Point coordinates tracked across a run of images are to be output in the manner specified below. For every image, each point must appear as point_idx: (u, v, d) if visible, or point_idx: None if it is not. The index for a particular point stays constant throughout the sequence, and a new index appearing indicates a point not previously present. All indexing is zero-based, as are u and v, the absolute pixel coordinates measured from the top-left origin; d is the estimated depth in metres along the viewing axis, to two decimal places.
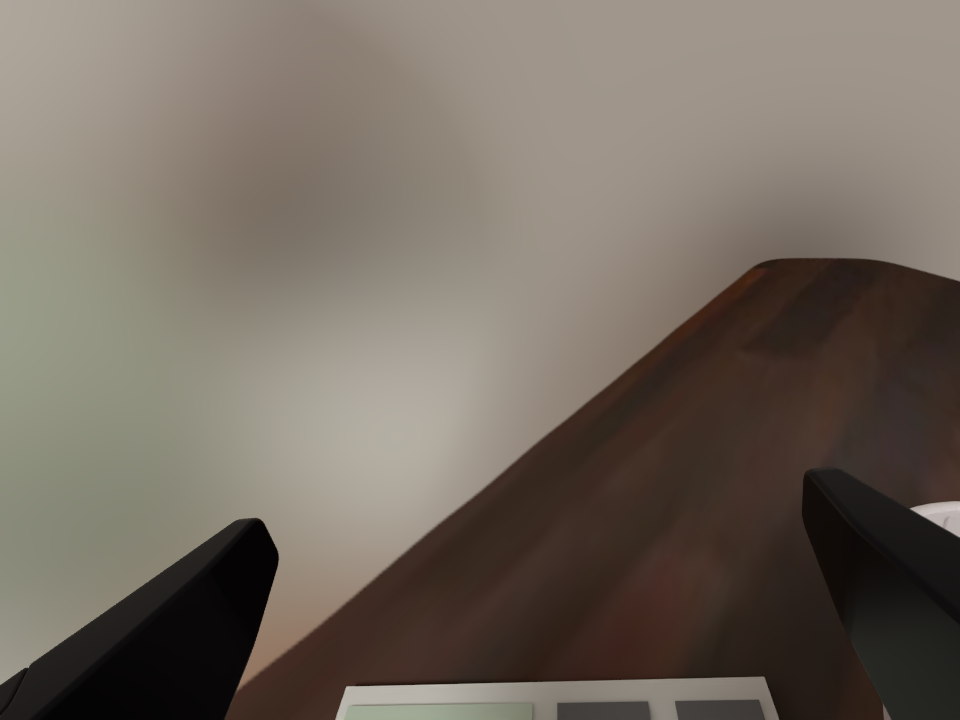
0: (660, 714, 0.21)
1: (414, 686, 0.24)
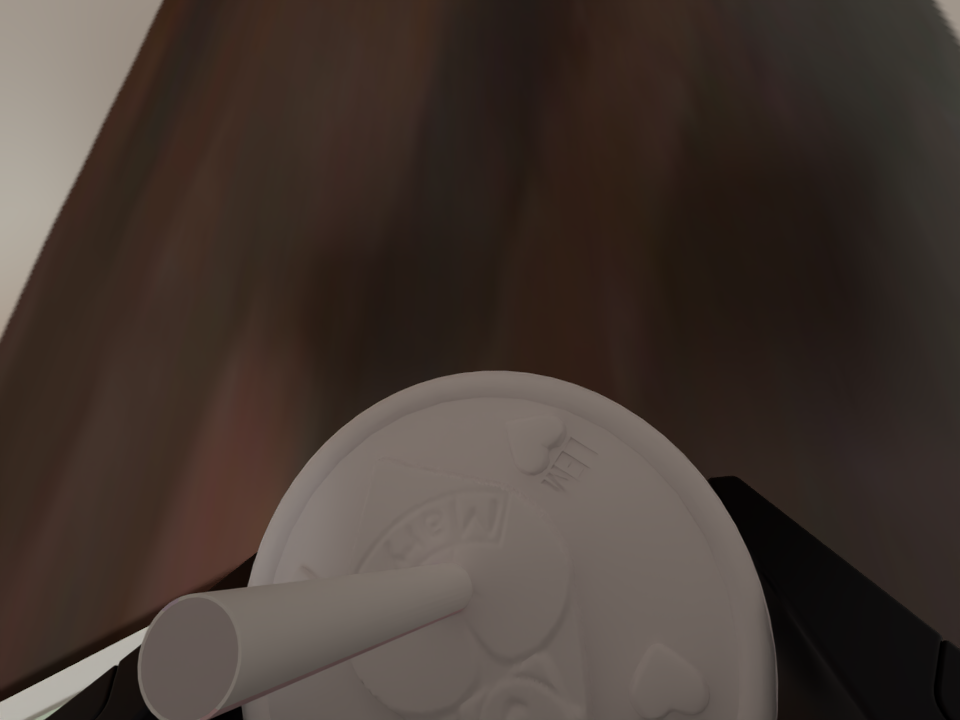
0: None
1: None
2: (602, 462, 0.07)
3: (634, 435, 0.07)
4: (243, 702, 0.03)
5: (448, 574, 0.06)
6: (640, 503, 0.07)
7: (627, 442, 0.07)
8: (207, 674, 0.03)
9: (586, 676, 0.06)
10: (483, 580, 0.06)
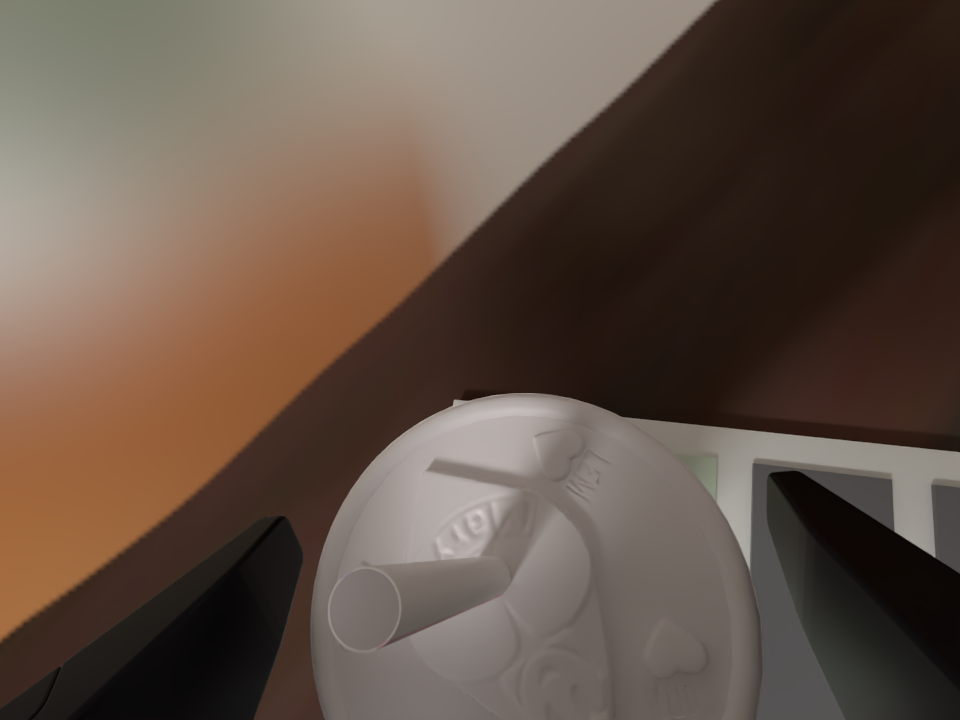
0: (905, 495, 0.15)
1: None
2: (616, 469, 0.08)
3: (642, 446, 0.08)
4: (396, 639, 0.04)
5: (494, 563, 0.07)
6: (648, 503, 0.08)
7: (636, 452, 0.08)
8: (375, 620, 0.04)
9: (607, 645, 0.07)
10: (520, 569, 0.08)
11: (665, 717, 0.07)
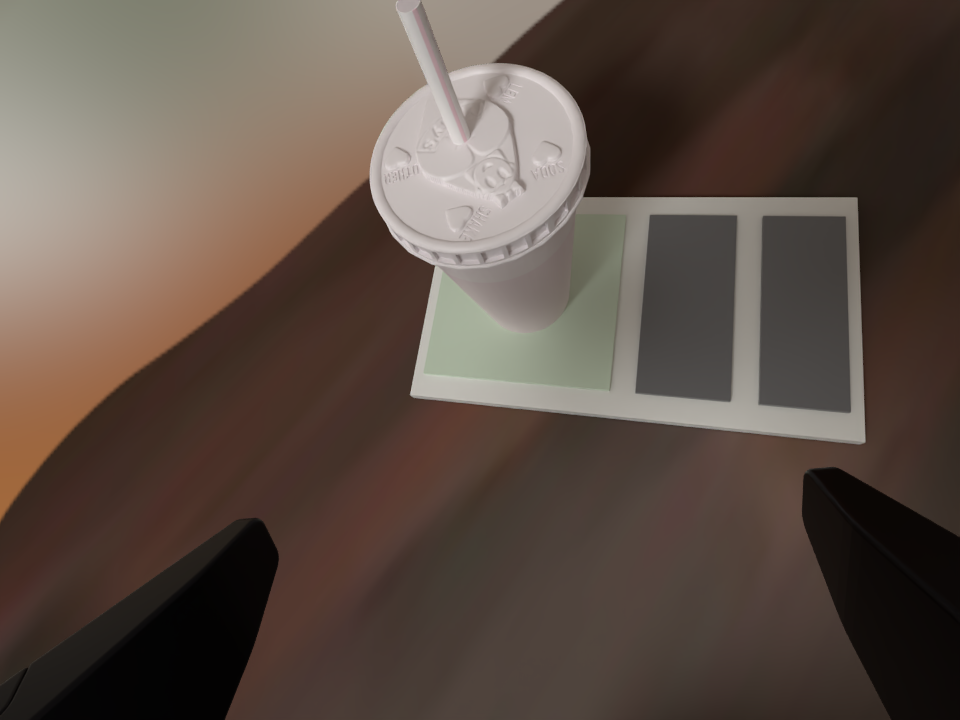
0: (745, 225, 0.23)
1: None
2: (524, 89, 0.16)
3: (536, 76, 0.16)
4: (418, 19, 0.12)
5: None
6: (539, 104, 0.16)
7: (534, 79, 0.16)
8: (411, 10, 0.12)
9: (515, 155, 0.15)
10: (474, 130, 0.16)
11: (541, 179, 0.15)
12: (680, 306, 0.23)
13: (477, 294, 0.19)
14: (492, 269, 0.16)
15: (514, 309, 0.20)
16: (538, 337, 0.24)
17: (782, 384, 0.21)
